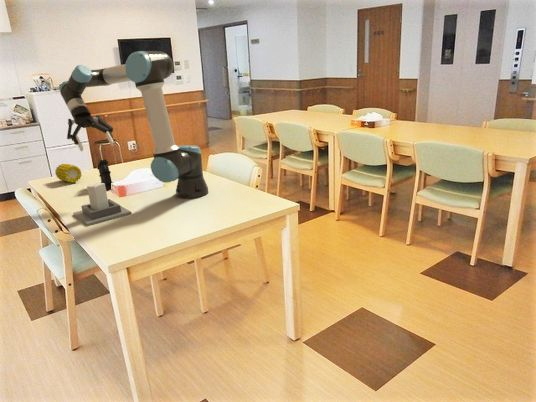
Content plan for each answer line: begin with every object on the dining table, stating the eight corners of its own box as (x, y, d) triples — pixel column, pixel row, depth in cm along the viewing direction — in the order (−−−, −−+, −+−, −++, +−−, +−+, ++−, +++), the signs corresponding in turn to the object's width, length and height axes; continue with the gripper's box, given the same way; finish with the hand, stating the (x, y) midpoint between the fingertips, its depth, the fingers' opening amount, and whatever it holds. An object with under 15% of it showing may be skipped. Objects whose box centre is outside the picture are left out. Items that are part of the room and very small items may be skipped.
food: (56, 180, 231) (52, 163, 228) (78, 177, 237) (75, 159, 234) (60, 186, 219) (56, 168, 216) (84, 182, 225) (80, 164, 222)
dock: (114, 204, 187) (113, 196, 186) (131, 214, 174) (129, 205, 173) (73, 215, 176) (71, 206, 175) (87, 226, 163) (85, 216, 162)
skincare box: (102, 209, 178) (97, 182, 174) (110, 210, 176) (105, 182, 172) (91, 213, 173) (85, 186, 169) (99, 215, 171) (93, 187, 167)
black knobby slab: (107, 189, 205) (99, 160, 206) (103, 194, 216) (96, 167, 217) (114, 187, 207) (107, 159, 208) (111, 192, 218) (103, 165, 219)
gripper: (104, 112, 199) (123, 147, 194) (49, 119, 184) (67, 157, 178) (107, 102, 194) (126, 136, 188) (50, 108, 178) (69, 146, 172)
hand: (97, 146), depth 183 cm, fingers open, 13 cm apart
